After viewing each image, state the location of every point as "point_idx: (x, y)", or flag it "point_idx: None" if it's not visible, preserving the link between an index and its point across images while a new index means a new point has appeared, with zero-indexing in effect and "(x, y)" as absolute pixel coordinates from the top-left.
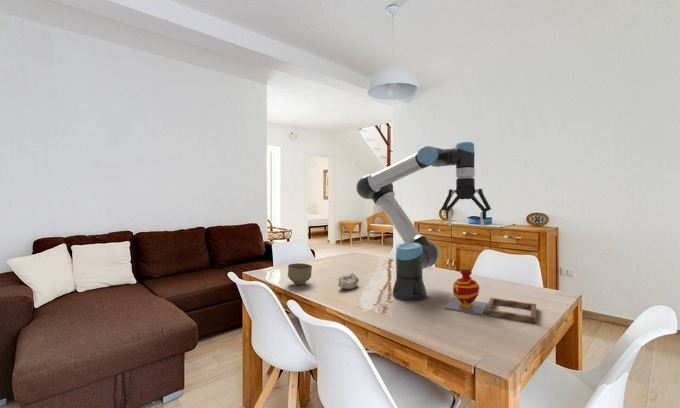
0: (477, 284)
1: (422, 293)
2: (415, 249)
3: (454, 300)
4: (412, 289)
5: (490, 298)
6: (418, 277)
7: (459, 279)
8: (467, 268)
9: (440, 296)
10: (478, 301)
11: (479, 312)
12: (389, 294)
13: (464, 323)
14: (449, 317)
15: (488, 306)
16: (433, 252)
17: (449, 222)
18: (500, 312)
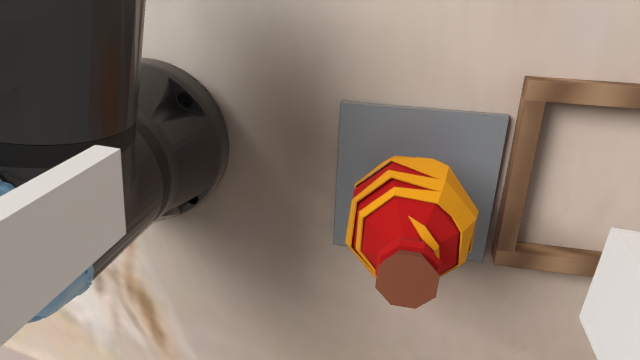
0: (469, 234)
1: (212, 180)
2: (48, 309)
3: (354, 144)
4: (170, 216)
5: (527, 98)
6: (160, 210)
7: (375, 255)
8: (415, 273)
9: (279, 86)
10: (464, 113)
11: (470, 254)
12: None
13: (421, 347)
14: (366, 315)
15: (510, 221)
16: (103, 41)
17: (89, 259)
18: (556, 271)
